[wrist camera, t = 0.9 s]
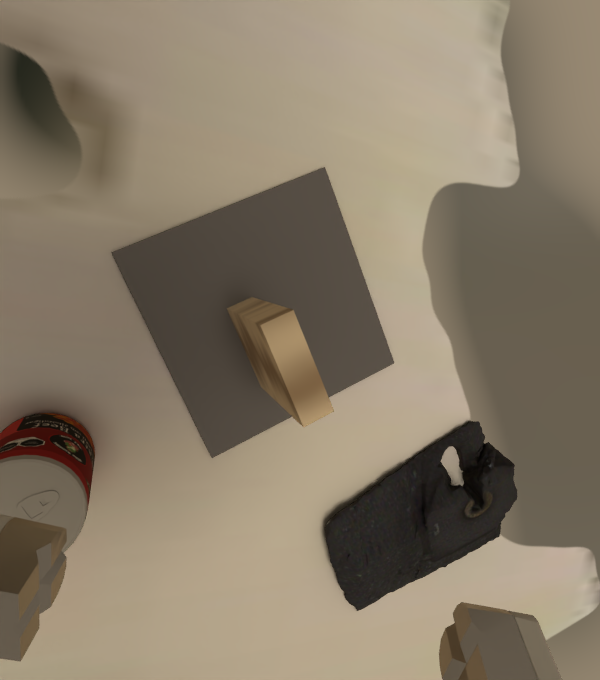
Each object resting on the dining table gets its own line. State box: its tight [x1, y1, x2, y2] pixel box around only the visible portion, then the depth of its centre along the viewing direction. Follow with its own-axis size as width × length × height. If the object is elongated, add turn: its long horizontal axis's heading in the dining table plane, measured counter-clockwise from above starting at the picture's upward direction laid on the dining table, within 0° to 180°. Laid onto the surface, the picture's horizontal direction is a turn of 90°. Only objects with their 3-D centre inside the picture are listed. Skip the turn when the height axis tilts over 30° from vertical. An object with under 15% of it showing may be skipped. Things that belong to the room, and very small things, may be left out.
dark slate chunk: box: [325, 421, 517, 611], centre depth 54 cm, size 15×22×5 cm
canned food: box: [0, 413, 95, 553], centre depth 38 cm, size 8×8×11 cm
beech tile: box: [227, 297, 334, 427], centre depth 41 cm, size 8×2×12 cm, turn 23°
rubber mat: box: [112, 167, 394, 458], centre depth 47 cm, size 20×20×1 cm
